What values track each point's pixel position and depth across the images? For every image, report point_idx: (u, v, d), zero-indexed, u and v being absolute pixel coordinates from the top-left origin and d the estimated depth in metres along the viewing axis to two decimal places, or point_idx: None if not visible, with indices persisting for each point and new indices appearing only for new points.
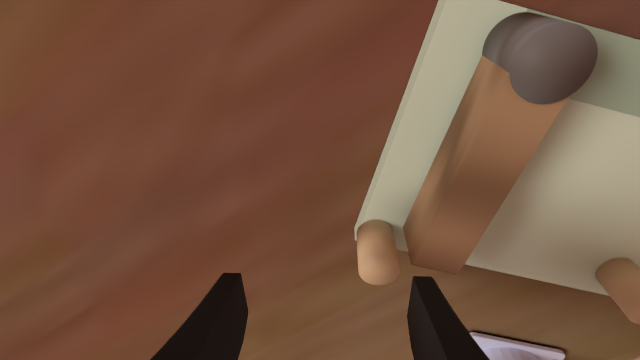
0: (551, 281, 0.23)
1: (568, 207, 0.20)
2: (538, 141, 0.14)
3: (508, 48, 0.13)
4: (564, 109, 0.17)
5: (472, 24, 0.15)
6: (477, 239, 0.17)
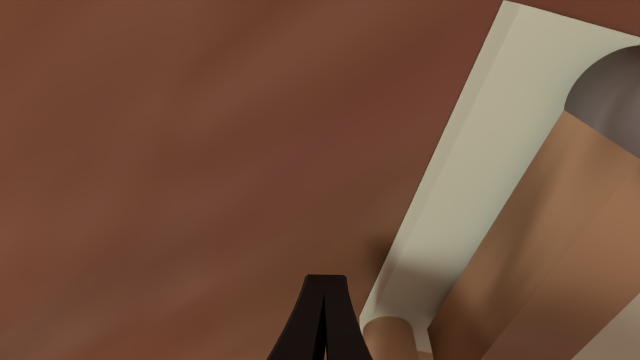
0: None
1: None
2: None
3: (635, 114, 0.08)
4: None
5: (551, 62, 0.10)
6: None
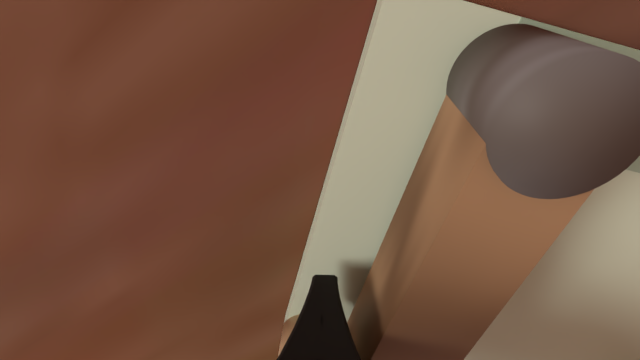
0: None
1: (583, 304, 0.14)
2: (540, 253, 0.08)
3: (484, 94, 0.07)
4: None
5: (429, 43, 0.09)
6: None
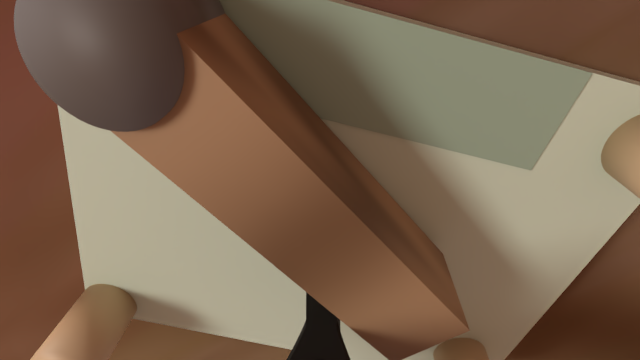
0: None
1: None
2: (264, 127, 0.07)
3: None
4: None
5: None
6: (416, 282, 0.09)
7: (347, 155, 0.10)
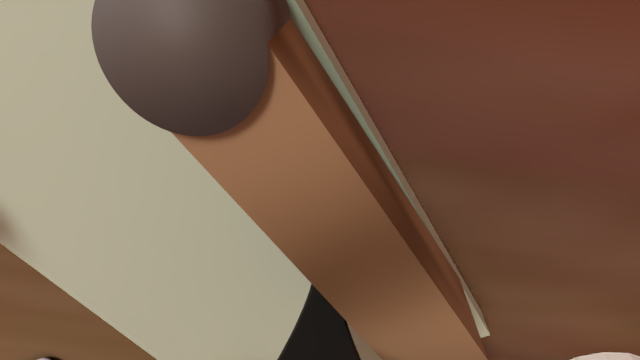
0: (157, 357, 0.17)
1: (212, 291, 0.14)
2: (335, 149, 0.07)
3: None
4: None
5: None
6: (449, 312, 0.09)
7: (389, 175, 0.10)
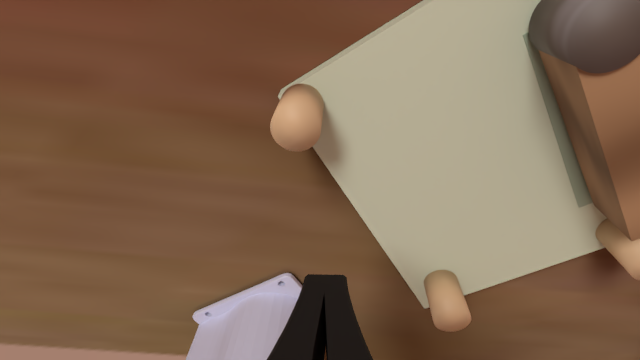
0: (394, 262, 0.23)
1: (461, 203, 0.21)
2: None
3: (557, 48, 0.14)
4: (534, 113, 0.18)
5: None
6: None
7: None
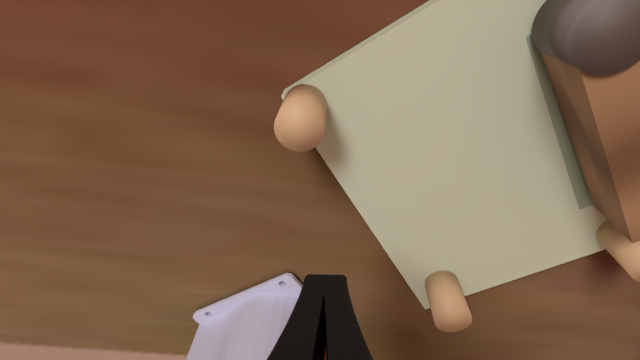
0: (395, 262, 0.23)
1: (463, 204, 0.21)
2: None
3: (560, 50, 0.14)
4: (536, 115, 0.18)
5: None
6: None
7: None
